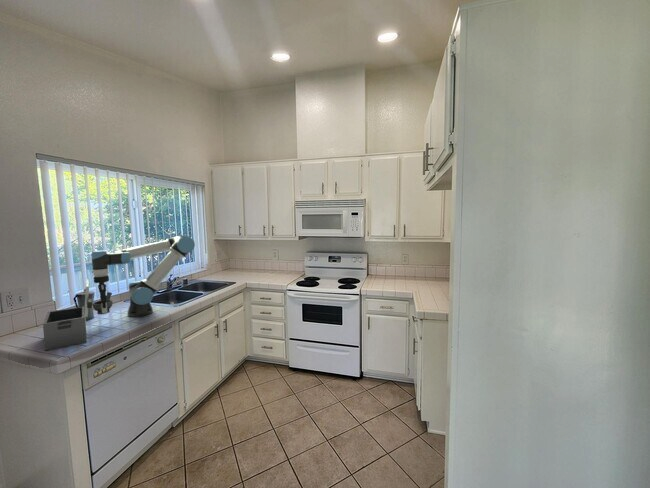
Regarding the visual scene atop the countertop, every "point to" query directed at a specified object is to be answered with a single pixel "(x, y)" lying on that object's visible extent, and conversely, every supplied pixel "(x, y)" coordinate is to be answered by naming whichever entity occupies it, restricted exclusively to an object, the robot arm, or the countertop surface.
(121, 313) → the countertop surface
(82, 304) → the moka pot
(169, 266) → the robot arm
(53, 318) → the storage box
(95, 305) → the mortar and pestle
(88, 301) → the cream box lid
